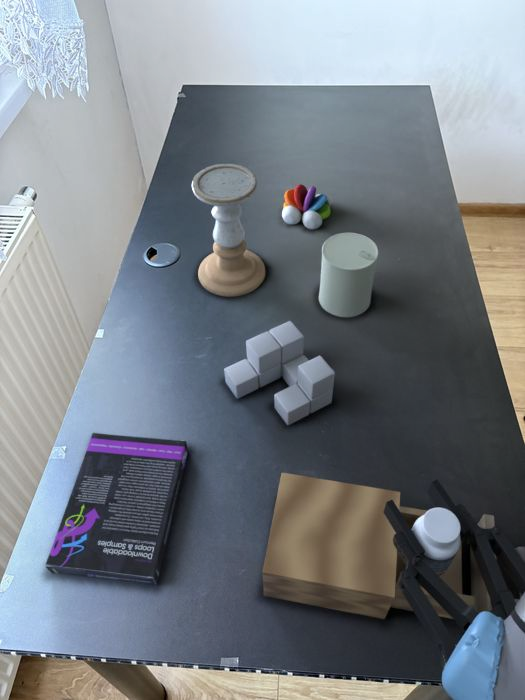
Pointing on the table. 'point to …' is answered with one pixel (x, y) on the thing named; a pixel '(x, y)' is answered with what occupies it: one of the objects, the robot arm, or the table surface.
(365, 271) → the can
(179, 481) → the box
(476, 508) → the table surface
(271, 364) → the grey cube puzzle piece
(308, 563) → the cabinet
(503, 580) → the robot arm
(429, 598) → the drawer
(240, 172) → the candle holder
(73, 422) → the table surface
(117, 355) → the table surface
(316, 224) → the rainbow petal toy
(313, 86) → the table surface
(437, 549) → the pill bottle
